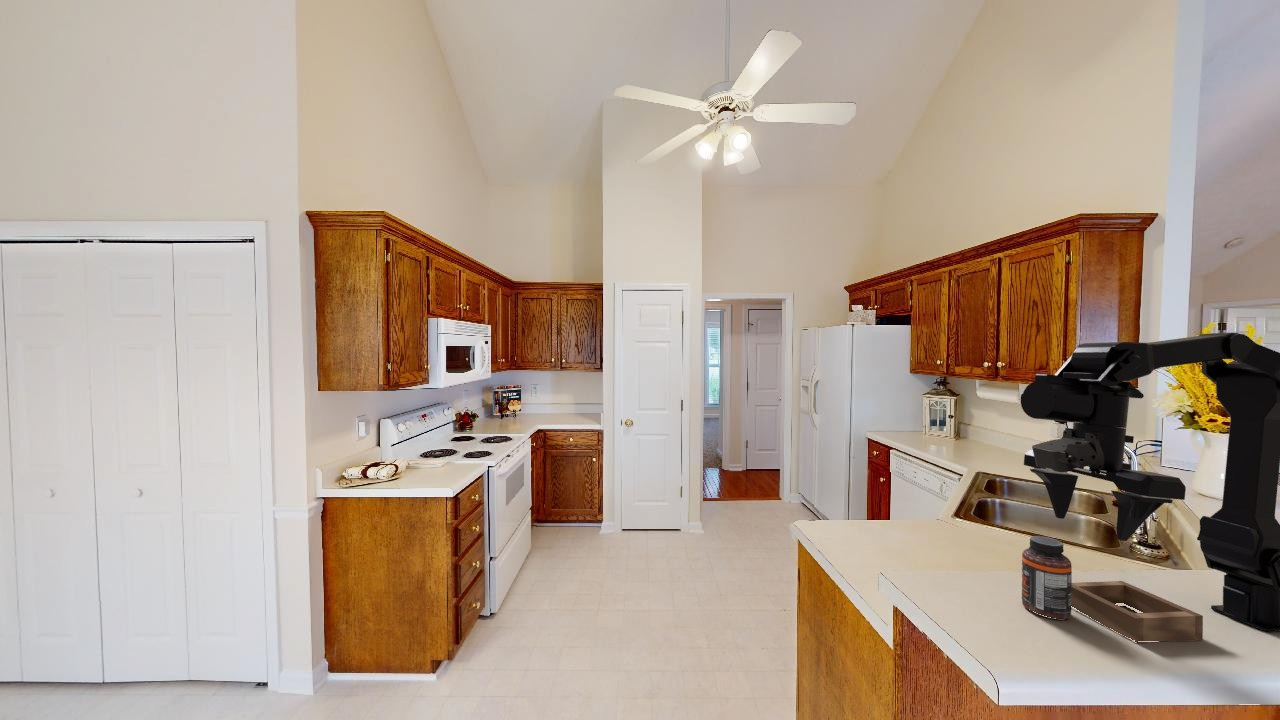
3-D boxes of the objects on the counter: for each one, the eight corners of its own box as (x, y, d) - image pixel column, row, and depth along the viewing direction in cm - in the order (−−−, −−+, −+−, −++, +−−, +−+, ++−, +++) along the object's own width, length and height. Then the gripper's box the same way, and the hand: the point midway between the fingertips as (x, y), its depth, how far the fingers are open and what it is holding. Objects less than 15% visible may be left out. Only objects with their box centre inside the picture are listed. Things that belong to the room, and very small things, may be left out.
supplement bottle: (1017, 598, 78) (1018, 530, 78) (1064, 607, 76) (1064, 537, 76) (1026, 615, 73) (1027, 542, 73) (1077, 626, 70) (1077, 550, 70)
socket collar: (1122, 602, 77) (1122, 581, 77) (1202, 640, 67) (1202, 615, 67) (1063, 604, 76) (1063, 583, 76) (1135, 643, 66) (1135, 618, 66)
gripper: (997, 413, 80) (988, 504, 79) (1114, 429, 61) (1103, 549, 61) (1059, 419, 80) (1050, 510, 80) (1194, 437, 61) (1183, 556, 61)
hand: (1088, 528), depth 71 cm, fingers open, 9 cm apart
